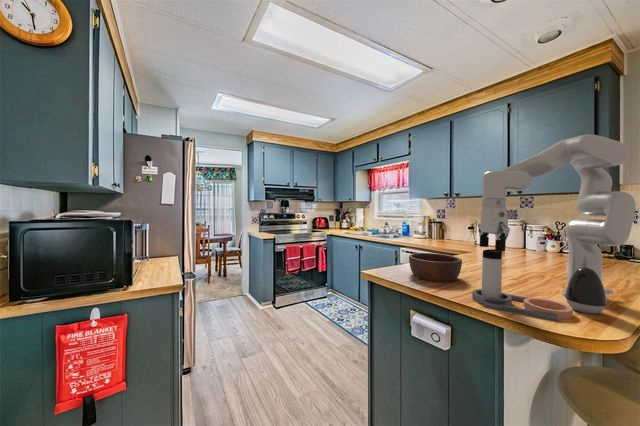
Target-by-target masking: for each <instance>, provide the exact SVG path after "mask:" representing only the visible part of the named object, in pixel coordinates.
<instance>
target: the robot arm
mask: <svg viewBox="0 0 640 426" xmlns="http://www.w3.org/2000/svg"><path fill="white" fill-rule="evenodd" d="M630 156H631V152H630V148H629V147H628V146H627V144H625V143H623V142H621V141H619V140H616V139H613V138H612V139H611V138H608V137H605V136H602V135H598V134H597V135H596V134H590V133H589V134H588V133H587V134H582V135H578V136H574V137H570V138H566V139H562V140H560V141H558V142H556V143H555V144H553V145H550V146H549V147H547V148H545V149H544V150H543V151H542V150H541V152H539V153H536V155H533V156H531V157H528V158H526V159H523V160H521V161H519V162H516V163H514V164H512V165H510V166H508V167H506V168H504V169H502V170H491V171H490V170H489V171H487V172H484V173H483V177H482V193H481V194H482V195H481V196H482V197H481V198H482V199H481V208H482V209H481V211H480V212H481V214H480V220H479V221H480V222H479V224H478V225H477V229H478V233H479V234H478V235H479V247H480V248H482V247H483V248H488V247H489V242H490V241H489V240H490V237H489V235H490V234H491V235H495V238H496V239H495V248H494V249H495V250H496V251H503V252H505V251H506V241H507V239H508V237H509V234H510V231H511V228H510V227H509V218H508V217H509V216H508V209H507V207H506V206H507V205H506V204H507V193H508V192H521V191H525V190H527V189H529V188H530V187H531V186H532V184H533V179H534V178H537V177H542V176H544V175H548V174H551V173H552V172H554V171H556V170H558V169H559V168H561V167H563V166H564V165H566V164H568V163H570V166H571V167H572V168H573V169H574V171H576V172H577V174H578V175H579V177H580V187H579V194H578V197H577V202H576V212H577V213H578V214H579V215H581V216H585V217H586V216H587V217H605V219H597V218H595V219H594V218H577V219H573V220H572V221H569V222H568V223H567V224H566V227H565V233H566V238H567V239H566V240H567V244H568V245H567V246H568V247H567V248H568V254H567V255H568V261H567V262H568V264H567V284H568V283H569V280H570V278H571V276H572V275H573V273H574V272H575V271H576V270H577V269H579V268H590V269H592V270H594V271H595V272H596V273H597V274H598V276H599V277H600V279H601V281H602V279H603V252H602V251H601V248H600V247H599V245H601V246H609V247H620V246H623V245H624V244H626V242H627V241H628V240H629V238H630V235H631V230H632V226H633V222H634V218H635V215H636V214H635V213H636V210H637V208H636V207H637V205H636V201H635V198H634V196H633V195H632V194H630V193H629V192H626V191H620V190H619V191H618V190H617V191H616V190H615V191H612V186H613V178H612V177H611V175H610V173H608V172H607V171H606V170H605V168H608V167H609V168H610V167H617V166H620V165H622V164H624V163H626V162H628V159H629V157H630ZM602 282H603V281H602ZM604 290H605V293H606V295H614V291H613V290H612V289H610V288H609V289H605V288H604ZM565 292H566V289H564V290H562V291H561V294H562V295H563V296H565Z"/></svg>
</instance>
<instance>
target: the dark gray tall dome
mask: <svg viewBox="0 0 640 426" xmlns="http://www.w3.org/2000/svg"><path fill="white" fill-rule="evenodd" d="M565 290H566V292H565V295H564V298H565V299H566V302H567V304H568V306H570V307H571V308H572V309H573V310H575V311H577V312H580V313H583V314H589V315H595V314H600V313H602V312H603V311H604V310H605V308H606V306H607V305H608V299H607V294H606V293H605V287H604V284H603V281H601V279H600V277H599V276H598V274H597V273H596V272H595V271H594V270H592V269H590V268H579V269H577V270H576V271H575V272H574V273H573V275H572V276H571V278H570V280H569V283H568V282H567V285H566V289H565Z"/></svg>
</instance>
